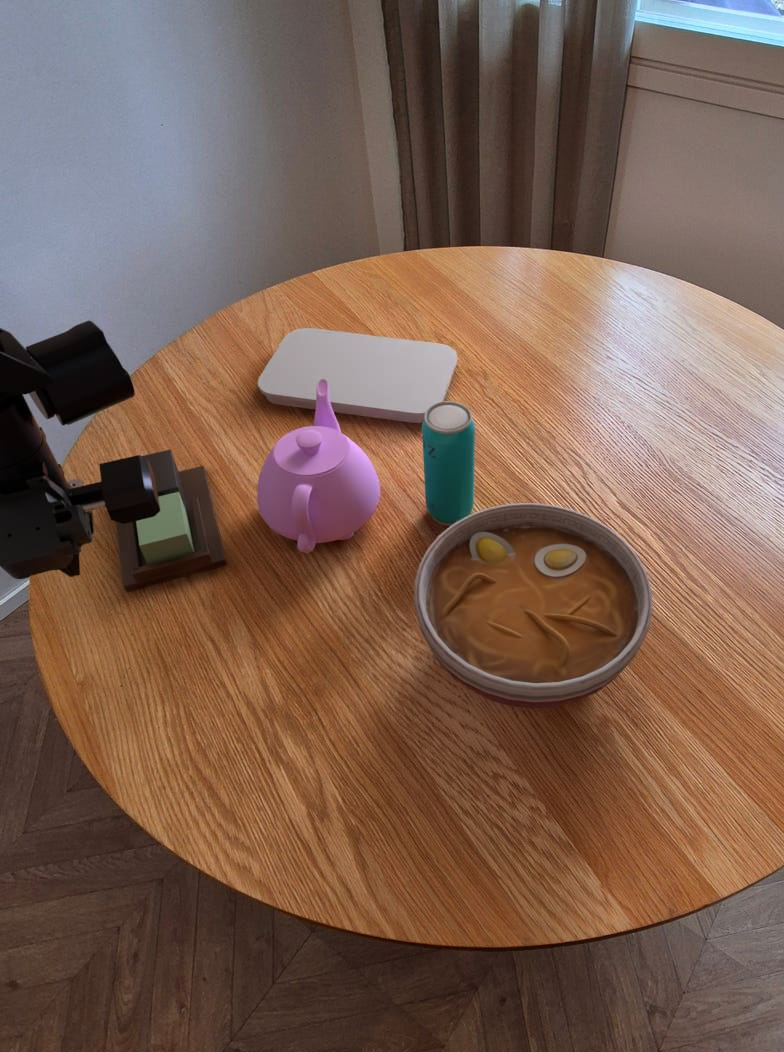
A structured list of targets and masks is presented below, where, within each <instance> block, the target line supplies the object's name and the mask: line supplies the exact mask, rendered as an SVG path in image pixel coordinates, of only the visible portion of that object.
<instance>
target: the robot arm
mask: <svg viewBox="0 0 784 1052" xmlns="http://www.w3.org/2000/svg"><path fill="white" fill-rule="evenodd" d="M24 395H29V396H30V399H31V400H32V401H33V403H34V405H35V407H36V408H37V409H38V411H39V412H40V413H41V415H42V416H43V417H44V418H45V419H46V420H50V419H52V418H54V417H56V418H57V420H58V421H59V423H60V425H61V426H62V427H63V426H69V425H72V424H74V423H76V422H79V421H81V420H84V419H86V418H88V417H90V416H92V415H95V414H97V413H100V412H103V411H104V410H106V409H109V408H111V407H113V406H115V405H118V404H120V403H123V402H125V401H127V400H129V399H131V398H133V397H135V387H134V384H133V380H132V378H131V376H130V373H129V372H128V371H127V370H126V369H125V368H124V367H123V364H122V362H121V361H120V359H119V357H118V356H117V354H116V353H115V351H114V350H113V349H112V346H111V345H110V344H109V343H108V341H107V338H106V335H105V333H104V331H103V329H101V328H100V326H98V325H97V324H96V323H95V322H94V321H93V320H91V319H90V320H86V321H84V322H81V323H78V324H76V325H74V326H73V327H71V328H69V329H68V330H66V331H64V332H61V333H59V334H56V335H53V336H51V337H48V338H46V339H43V340H40V341H38V342H35V343H32V344H30V345H27V346H25V347H24V346H23V345H22V343H20V341H19V340H18V339H17V338H16V337H15V336H14V335H13V334H12V333H11V332H10V331H8V330H6V329H4V328H2V327H0V568H1V569H2V570H3V571H5V573H7V574H8V575H9V576H10V577H11V578H13V579H15V580H25V579H28V578H31V576H36V575H39V574H43V573H48V572H52V571H60V572H61V573H63V574H65V575H67V576H68V577H70V578H73V577H77V576H80V575H81V565H80V562H81V561H80V554H82V547H83V546H85V545H87V544H91V543H92V542H93V540H94V539H93V535H94V533H95V520H94V511H96V510H101V509H105V508H106V512H107V513H108V517H109V518H110V521H113V522H115V523H116V522H119V523H122V524H126V523H130V522H134V521H138V520H142V519H147V518H151V517H155V516H156V515H157V514H158V513H159V512H160V505H159V499H158V494H157V488H156V482H155V477H154V472H153V470H152V467H151V465H150V462H149V460H147V459H145V458H144V457H142V456H143V455H140V454H137V455H133V456H129V457H128V456H127V457H124V458H120V459H119V458H118V459H115V460H111V461H106V462H102V463H99V464H98V465H99V473H100V481H97V482H94V483H89V484H85V485H84V481H83V480H82V478H74V479H70V480H67V479H66V477H65V471H64V469H63V467H62V465H61V464H60V463H58V461H57V460H56V456H54V454H53V452H52V450H51V448H50V445H49V443H48V442H47V435H46V433H45V432H44V430H43V428H42V426H40V425H39V424H38V422H37V420H36V418H35V416H34V414H33V412H32V410H31V409H30V406H29V404H28V402H27V400H26V398H25V397H24Z"/></svg>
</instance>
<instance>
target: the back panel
mask: <svg viewBox="0 0 784 1052" xmlns="http://www.w3.org/2000/svg"><path fill="white" fill-rule="evenodd" d="M141 456H142V457H144V458H145V459H147V460H149V462H150V465H151V467H152V470H153V472H154V477H155V482H156V488H157V494H158V497H159V496H163V495H167V494H172V493H176V492H179V494H180V496H181V499H182V501H183V504H184V507H185V509H186V512H187V515H188V519H189V524H190V529H191V534H192V539H193V545H194V550H195V553H192V554H188V555H184V556H181V557H177V558H173V559H169V560H165V561H161V562H158V563H154V564H150V565H148V563H147V561H146V559H145V557H144V555H143V553H142V551H141V548H140V546H139V540H138V532H137V525H136V521H134V522H130V523H126V524H122V523H119V522H116V521H115V524H116V525H115V526H116V533H117V534H116V535H117V542H118V552H119V560H120V569H121V580H122V586H123V589H124V591H125V592H126V593H128V592H130V591H134V590H138V589H142V588H146V587H150V586H153V585H157V584H161V583H164V582H168V581H172V580H175V579H180V578H183V577H187V576H190V575H195V574H198V573H203V572H205V571H209V570H213V569H217V568H221V567H224V566H227V565H228V563H227V559H226V555H225V550H224V545H223V540H222V537H221V533H220V529H219V524H218V520H217V515H216V511H215V506H214V501H213V497H212V493H211V488H210V485H209V484H210V483H209V481H208V475H207V471H206V468H205V466H204V465H201V466H196V467H192V468H188V469H184V470H179V468H178V465H177V462H176V460H175V457H174V455H173V451H172V449H166V450H162V451H158V452H154V453H153V452H152V453H149V454H145V455H141Z"/></svg>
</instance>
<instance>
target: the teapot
mask: <svg viewBox="0 0 784 1052" xmlns="http://www.w3.org/2000/svg"><path fill="white" fill-rule="evenodd" d="M313 420H314V421H313V425H309V426H304V427H299V428H295V429H293V430H291V431H289V432H287V433H286V434H284V435H282V437H281V438H280V439H279V440H278V441H277V442H276V443H275V444H274V445H273V447H272V448H271V450H270V452H269V454H268V455H267V457H266V458H265V460H264V463H263V465H262V467H261V470H260V472H259V477H258V480H257V491H256V499H257V505H258V510H259V513H260V516H261V518H262V519H263V521H264V522H265V523H266V525H267V526H268V527H269V528H270V529H271V530H272V531H274V532H275V533H277V534H278V535H280V536H282V537H285V538H287V539H290V540H293V541H296V543H297V544H296V547H297V550H298V551H300V552H301V553H304V554H307V553H310V552H312V551H313V550H314V549H315V547H316V544H324V543H329V542H335V541H337V540H339V541H347V540H349V539H351V538H352V537H353V536H354V535H355V532H356V531H358V530H359V529H361V528H362V527H363V526H364V525H365V524H366V523H368V522H369V520H370V519H371V518H372V517H373V515H374V514H375V512H376V510H377V508H378V506H379V503H380V499H381V485H380V480H379V477H378V474H377V471H376V469H375V467H374V465H373V463H372V461H371V459H370V458H369V457H368V455H367V454H366V452H365V451H364V450H363V449H362V448H361V447H360V446H359V445H358V444H357V443H355V442H354V441H353V440H352V439H351V438H350V437H348V436H347V435H346V434H344V433H342V430H341V427H340V424H339V422H338V419H337V417H336V414H335V412H333V409H332V407H331V403H330V398H329V387H328V383H327V381H326V380H325V379H321V380H320V381H319V382H318V385H317V389H316V409H315V412H314V419H313Z"/></svg>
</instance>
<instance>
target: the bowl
mask: <svg viewBox="0 0 784 1052" xmlns="http://www.w3.org/2000/svg"><path fill="white" fill-rule="evenodd" d="M641 561H642V560H641V559H640V557H639V556H638V555H637V553H636V552H635V551H634V550H633V548H632V547H631V546H630V545H629V544H628V543H627V542H626V540H624V539H623V538H622V537H621V536H620V535H619V534H617V533H616V532H615V530H612V529H611V528H610V527H609V526H607V525H605V524H603V523H601V522H600V521H598V520H596V519H595V518H594V517H591V516H589V515H586V514H584V513H582V512H579V511H576V510H574V509H571V508H567V507H562V506H558V505H554V504H548V503H547V504H546V503H538V502H522V503H520V502H519V503H507V504H501V505H496V506H491V507H487V508H485V509H481V510H478V511H476V512H474V513H470V514H469V516H467V517H465V518H463V519H461V520H460V521H458V522H456V523H454V524H453V525H451V526H448V528H446V529H445V530H444V531H442V532H441V533H440V534H439V535H438V536H437V537H436V538H435V539H434V541H433V542H432V543H431V544H430V546H429V547H428V548H427V549H426V551H425V553H424V554H423V557H422V559H421V560H420V563H419V565H418V566H417V570H416V575H415V579H414V584H413V603H414V605H413V606H414V609H415V613H416V617H417V620H418V623H419V624H418V625H419V627H420V631H421V635H422V636H423V638H424V641H425V642H426V644H427V645H428V648H429V650H430V651H431V653H432V654H433V656H434V657H435V659H436V660H437V661H438V663H439V664H440V665H441V666H442V667H443V668H444V670H445V671H446V672H447V673H448V674H449V675H450V676H451V677H452V678H453V679H454V680H455V681H457V682H458V683H459V684H461V685H462V686H463V687H464V688H466V689H467V690H469V691H471V692H473V693H474V694H477V695H479V696H481V697H482V698H485V699H487V700H488V701H491V702H494V703H497V704H501V705H503V706H507V707H510V708H518V709H528V710H538V709H552V708H557V707H561V706H564V705H569V704H573V703H578V702H579V701H582V700H584V699H586V698H588V697H590V696H592V695H594V694H596V693H598V692H599V691H601V690H602V689H604V688H605V687H606V686H607V685H609V684H611V683H612V682H613V681H614V680H615V679H616V678H618V676H619V675H620V674H622V672H623V671H625V669H626V668H627V667H628V666H629V665H630V663H631V662H632V661H633V660H634V659H635V657H636V656H637V653H638V652H639V649H640V647H641V646H642V644H643V642H644V640H645V638H646V636H647V634H648V632H649V628H650V624H651V621H652V617H653V612H654V611H653V609H654V608H653V589H652V586H651V582H650V578H649V575H648V572H647V569H646V568H645V567H644V565H643V563H642V562H641Z"/></svg>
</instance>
